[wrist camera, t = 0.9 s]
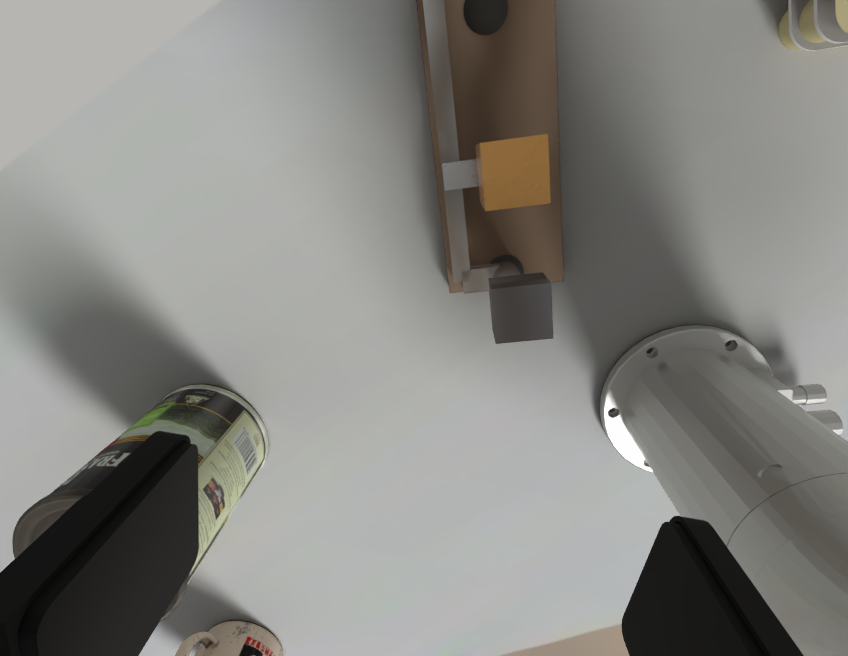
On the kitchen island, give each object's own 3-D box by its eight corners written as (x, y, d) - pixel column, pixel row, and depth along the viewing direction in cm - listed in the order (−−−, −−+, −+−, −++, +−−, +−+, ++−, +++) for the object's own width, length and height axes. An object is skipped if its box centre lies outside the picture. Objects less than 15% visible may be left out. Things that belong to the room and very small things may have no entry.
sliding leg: (519, 140, 30) (547, 133, 21) (522, 190, 31) (550, 203, 22) (441, 151, 31) (435, 149, 22) (446, 199, 32) (443, 216, 22)
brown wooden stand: (547, -53, 28) (599, -171, 18) (559, 282, 35) (602, 333, 25) (414, -29, 29) (391, -130, 19) (450, 294, 36) (448, 348, 26)
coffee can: (129, 424, 41) (-24, 550, 28) (209, 360, 39) (82, 465, 26) (213, 504, 44) (108, 654, 31) (294, 449, 41) (218, 587, 28)
